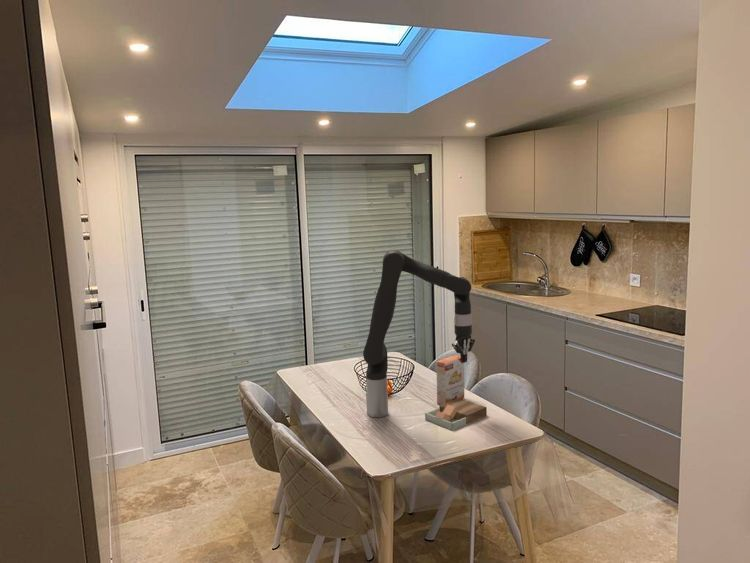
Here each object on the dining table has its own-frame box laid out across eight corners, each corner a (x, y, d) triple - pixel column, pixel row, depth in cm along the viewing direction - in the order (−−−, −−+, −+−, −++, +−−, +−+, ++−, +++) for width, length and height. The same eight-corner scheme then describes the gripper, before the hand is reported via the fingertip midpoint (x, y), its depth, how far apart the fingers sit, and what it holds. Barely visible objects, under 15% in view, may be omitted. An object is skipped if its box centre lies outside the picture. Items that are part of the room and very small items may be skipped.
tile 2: (444, 416, 236) (442, 412, 235) (450, 407, 238) (447, 404, 236) (452, 418, 232) (449, 415, 231) (457, 410, 234) (455, 407, 233)
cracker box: (446, 407, 250) (445, 363, 248) (436, 404, 255) (435, 360, 252) (465, 398, 260) (464, 356, 257) (455, 396, 264) (454, 354, 261)
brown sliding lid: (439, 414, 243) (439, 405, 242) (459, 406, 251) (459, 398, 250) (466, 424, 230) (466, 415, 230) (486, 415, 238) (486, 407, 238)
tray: (425, 419, 237) (424, 413, 237) (439, 414, 242) (438, 407, 242) (452, 430, 225) (452, 423, 224) (466, 424, 230) (466, 417, 230)
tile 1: (443, 414, 235) (441, 420, 235) (437, 410, 233) (435, 416, 232) (451, 417, 232) (448, 422, 231) (445, 413, 229) (442, 419, 229)
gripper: (466, 319, 243) (467, 357, 246) (446, 324, 235) (447, 363, 238) (479, 322, 237) (480, 360, 240) (459, 327, 229) (459, 367, 232)
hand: (463, 362), depth 239 cm, fingers closed
